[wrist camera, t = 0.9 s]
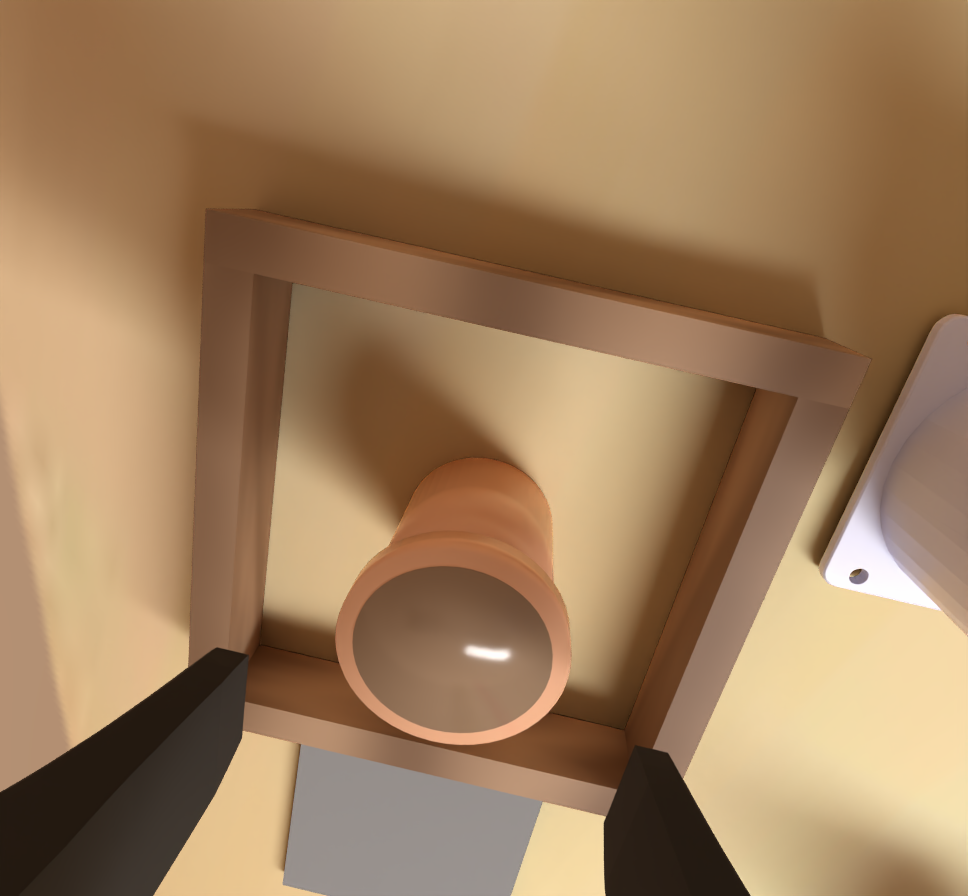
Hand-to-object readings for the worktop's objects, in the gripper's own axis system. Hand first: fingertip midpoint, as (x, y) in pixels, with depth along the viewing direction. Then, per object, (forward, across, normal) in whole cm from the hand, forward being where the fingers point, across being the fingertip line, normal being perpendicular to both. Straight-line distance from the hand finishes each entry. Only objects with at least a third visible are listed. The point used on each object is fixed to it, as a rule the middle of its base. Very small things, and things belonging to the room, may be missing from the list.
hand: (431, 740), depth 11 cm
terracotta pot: (+8, 0, 0) cm, 8 cm away
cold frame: (+8, 0, 0) cm, 8 cm away
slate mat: (+8, 0, +14) cm, 16 cm away
